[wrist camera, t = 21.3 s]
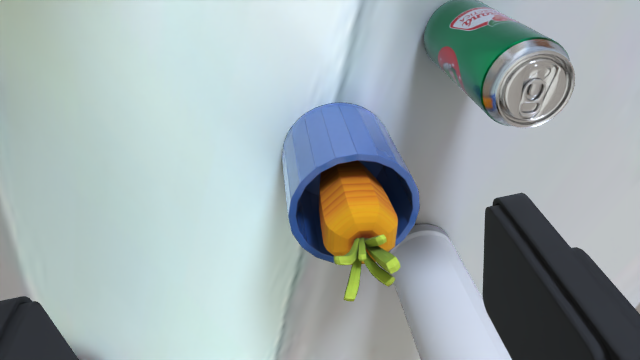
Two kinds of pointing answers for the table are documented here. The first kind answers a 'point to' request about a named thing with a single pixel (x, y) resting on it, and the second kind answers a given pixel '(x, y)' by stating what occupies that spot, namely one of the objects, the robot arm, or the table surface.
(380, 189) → the carrot
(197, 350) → the table surface
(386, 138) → the cup
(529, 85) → the soda can
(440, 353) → the travel mug
